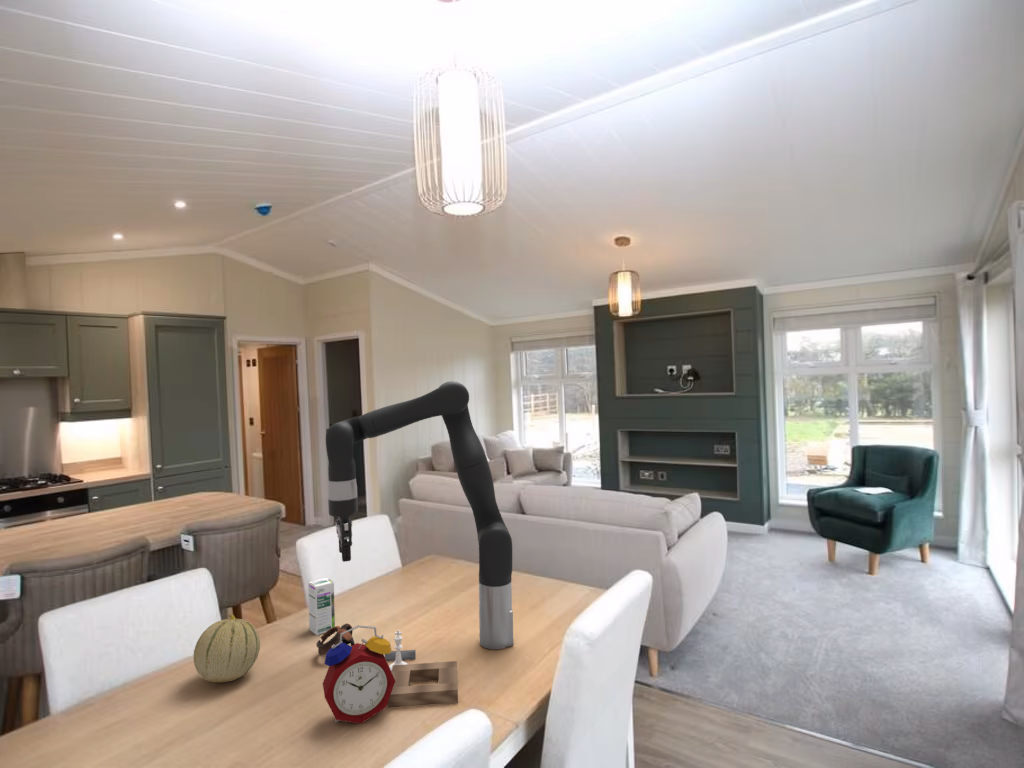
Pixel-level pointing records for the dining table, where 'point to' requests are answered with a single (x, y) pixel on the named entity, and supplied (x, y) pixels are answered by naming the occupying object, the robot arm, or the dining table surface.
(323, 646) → the pottery mug
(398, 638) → the chess piece
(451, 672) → the block
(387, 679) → the alarm clock
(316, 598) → the syrup box
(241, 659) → the cantaloupe
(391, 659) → the stand rails
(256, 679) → the dining table surface
